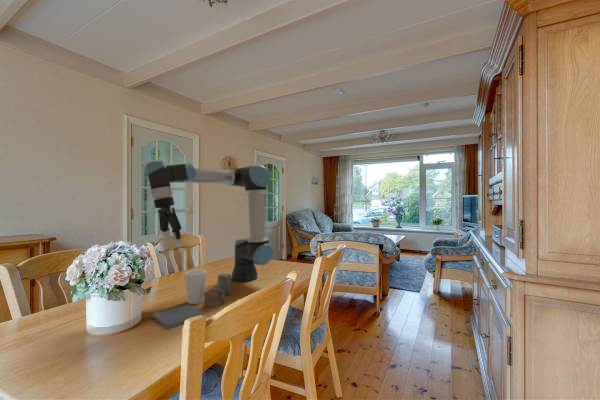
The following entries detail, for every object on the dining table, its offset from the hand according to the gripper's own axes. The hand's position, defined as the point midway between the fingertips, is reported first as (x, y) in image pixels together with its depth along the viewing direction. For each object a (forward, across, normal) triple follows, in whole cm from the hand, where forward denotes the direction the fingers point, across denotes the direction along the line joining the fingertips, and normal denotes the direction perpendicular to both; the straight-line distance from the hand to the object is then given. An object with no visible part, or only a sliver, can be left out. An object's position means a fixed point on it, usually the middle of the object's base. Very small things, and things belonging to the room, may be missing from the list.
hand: (174, 246), depth 117 cm
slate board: (+25, +12, -8) cm, 29 cm away
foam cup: (+27, 0, +3) cm, 27 cm away
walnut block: (+28, +9, +8) cm, 31 cm away
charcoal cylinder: (+29, -1, +17) cm, 34 cm away
